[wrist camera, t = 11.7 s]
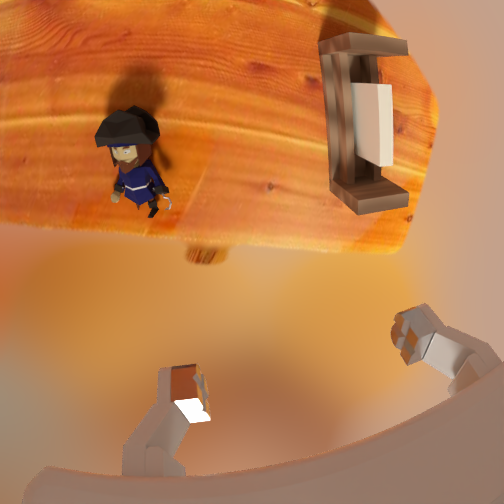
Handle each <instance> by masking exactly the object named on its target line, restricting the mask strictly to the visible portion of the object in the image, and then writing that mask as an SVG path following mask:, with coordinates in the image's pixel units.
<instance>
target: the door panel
mask: <svg viewBox="0 0 504 504" xmlns="http://www.w3.org/2000/svg"><path fill="white" fill-rule="evenodd" d="M351 95H352V108H353V126H354V153H355V154H356V155H358V156H360V157H362V158H364V159H366V160H368V161H370V162H372V163H374V164H375V165H377V166H379V167H382V166H392V165H393V104H392V86H391V85H387V84H370V83H351Z"/></svg>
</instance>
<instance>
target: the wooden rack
mask: <svg viewBox="0 0 504 504" xmlns="http://www.w3.org/2000/svg"><path fill="white" fill-rule="evenodd" d="M318 48H319V56H320V64H321V72H322V81H323V90H324V101H325V112H326V125H327V139H328V157H329V180H330V191H331V192H332V193H333V194H334V195H336V196H337V197H338V198H339V199H340V200H341V201H342V202H343V203H345V204H346V205H347V206H348V207H349V208H350V209H351V210H352V211H354V212H355V213H356V214H357V215H363V214H368V213H374V212H380V211H385V210H391V209H396V208H402V207H408V200H409V192H407V191H406V190H404V189H402V188H401V187H399V186H398V185H396V184H394V183H393V182H391V181H389V180H388V179H386V178H384V177H383V176H381V167H379V166H377V165H375V164H374V163H372V162H370V161H368V160H366V159H364V158H362V157H360V156H358V155H356V154H355V153H354V126H353V108H352V95H351V83H370V84H379V79H378V68H377V58H376V57H388V56H408V47H407V41H406V40H402V39H396V38H391V37H385V36H378V35H370V34H362V33H352V32H348V33H344V34H341V35H338V36H335V37H332V38H329V39H326V40H323V41H320V42H318Z"/></svg>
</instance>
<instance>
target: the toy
mask: <svg viewBox="0 0 504 504" xmlns="http://www.w3.org/2000/svg"><path fill="white" fill-rule="evenodd" d="M159 136H160V132H159V127H158V122H157V121H156V120H155V119H154V118H153V117H152V116H151V115H150V114H149V113H148V112H147V111H145V110H143V109H141V108H139V107H137V106H135V105H134V106H132V107H131V108H129V109H128V110H126V111H122V110H117V111H115V112H114V113H113V114H111V115H110V116H108V117H107V118H106V119H104V120H103V121H102V123H101V125H100V127H99V129H98V131H97V133H96V135H95V141H96V144H97V147H101V146H106V145H107V147H109V149H110V153H111V157H112V160H113V164H114V167H115V166H116V165H117V164H119V175H120V178H119V180H118V183H117V184H115V189H114V190H115V191H114V192H113V193H112V195H111V200H112V202H114V203H116V202H118V201H119V200H120V193H123V192H124V189H125V197H127V198H128V199H130V200H132V201H133V202H135V203H136V205H137V208H138V210H139V206H138V205H141V204H143V203H145V202H147V201H148V205H149V208H152V210H151V212H150V214H149V216H148V218H153V217H154V215H155V214H156V213H157V211H158V210H159V209H158V207H157V202H156V200H155V199H154V197H155V196H156V194H162V195H163V197H164V198H166V199H168V200H169V202H170V205H169V208H166V209H165V210H168V209H170V208H171V204H172V202H171V200H170V198H169V197H165V196H164V194H167V193H169V189H168V187H166V186H165V184H164V182H163V181H162V179H161V177H160V175H159V174H158V172H157V170H156V169H155V167H154V165H153V163H152V162H151V160H149V159H148V158H149V156H150V155H151V154H152V152H151V145H150V144H153V143H154V142H155V141H156V140H157V139H158V137H159ZM151 177H152V178H153V180H154V183H153V182H152V181H151ZM124 185H125V186H126V188H124Z"/></svg>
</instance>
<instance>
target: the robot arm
mask: <svg viewBox="0 0 504 504" xmlns="http://www.w3.org/2000/svg"><path fill="white" fill-rule="evenodd" d="M394 321H395V322H396V323H395V324H394V325H393V326H392V328H391V339H392V342H393V344H394V346H395V347H396V348H398V349H400V350H401V352H400V355H401V357H402V358H403V360H404V362H405V363H406V365H407V366H408V365H410V364H413V363H415V362H418V361H420V360H422V359H423V361H424V362H426V363H427V364H429V365H431V366H432V367H434V368H435V369H437V370H439V371H440V372H442V373H443V374H445V375H446V376H448V377H449V378H451V379H453V381H452V382H451V384H450V385H449V387H448V392H449V394H450V395H451V397H450V398H448V399H447V400H445V401H443V402H441V403H440V404H438V405H436V406H434V407H432V408H430V409H428V410H427V411H425V412H423V413H421V414H419V415H417V416H415V417H413V418H411V419H409V420H407V421H404V422H402V423H400V424H398V425H396V426H393V427H391V428H389V429H386V430H384V431H382V432H379V433H377V434H374V435H372V436H369V437H367V438H364V439H362V440H359V441H356V442H353V443H350V444H348V445H345V446H342V447H339V448H336V449H333V450H329V451H326V452H323V453H319V454H316V455H312V456H309V457H305V458H301V459H297V460H293V461H289V462H284V463H280V464H275V465H270V466H266V467H260V468H254V469H248V470H242V471H234V472H227V473H218V474H208V475H195V476H186V472H185V467H184V466H183V465H181V464H180V463H179V462H178V461H176V460H175V459H174V458H173V456H174V455H175V453H176V451H177V449H178V447H179V445H180V443H181V441H182V439H183V437H184V436H185V434H186V431H187V430H188V428H189V426H190V423H192V422H199V421H207V420H211V418H210V406H209V404H208V402H207V400H206V399H207V398H208V388H207V383H206V380H205V377H204V375H203V374H201V370H200V367H199V365H198V364H190V365H182V366H173V367H165V368H160V369H159V372H158V389H157V404H153V406H152V407H151V408H150V409H149V411H148V412H147V414H146V415H145V417H144V418H143V419H142V421H141V422H140V423H139V425H138V426H137V428H136V429H135V430H134V432H133V433H132V434H131V436H130V437H129V438H128V440H127V441H126V443H125V444H124V445H123V458H122V459H123V460H122V475H109V474H99V473H91V472H83V471H77V470H71V469H65V468H60V467H55V466H46V467H45V468H43V469H42V470H41V471H40V472H39V473H38V474H37V475H36V476H35V477H34V478H33V479H32V480H31V482H30V483H29V484H28V485H27V487H26V489H25V492H24V496H23V501H22V504H504V362H502V361H501V360H500V358H499V357H498V356H497V354H496V353H495V352H494V350H493V349H492V348H491V347H490V345H489V344H488V343H486V342H484V341H481V340H479V339H477V338H475V337H472V336H470V335H468V334H466V333H463V332H461V331H459V330H456V329H454V328H452V327H450V326H447V327H446V326H445V325H444V324H443V322H442V321H441V320H440V319H439V318H438V316H437V315H436V314H435V313H434V311H433V310H432V309H431V308H430V307H429V306H428V305H427V304H426V303H424V304H421V305H419V306H416V307H412V308H410V309H407V310H405V311H402V312H399V313H397V314H396V315H395V317H394Z"/></svg>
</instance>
